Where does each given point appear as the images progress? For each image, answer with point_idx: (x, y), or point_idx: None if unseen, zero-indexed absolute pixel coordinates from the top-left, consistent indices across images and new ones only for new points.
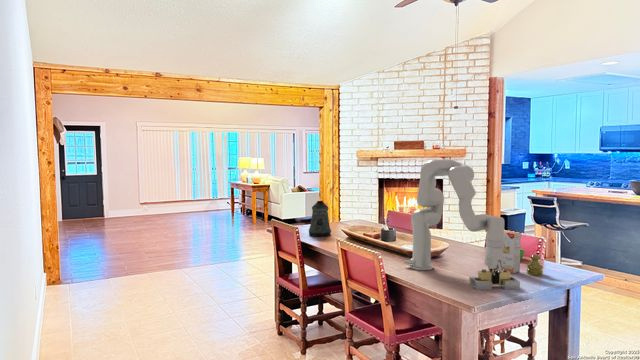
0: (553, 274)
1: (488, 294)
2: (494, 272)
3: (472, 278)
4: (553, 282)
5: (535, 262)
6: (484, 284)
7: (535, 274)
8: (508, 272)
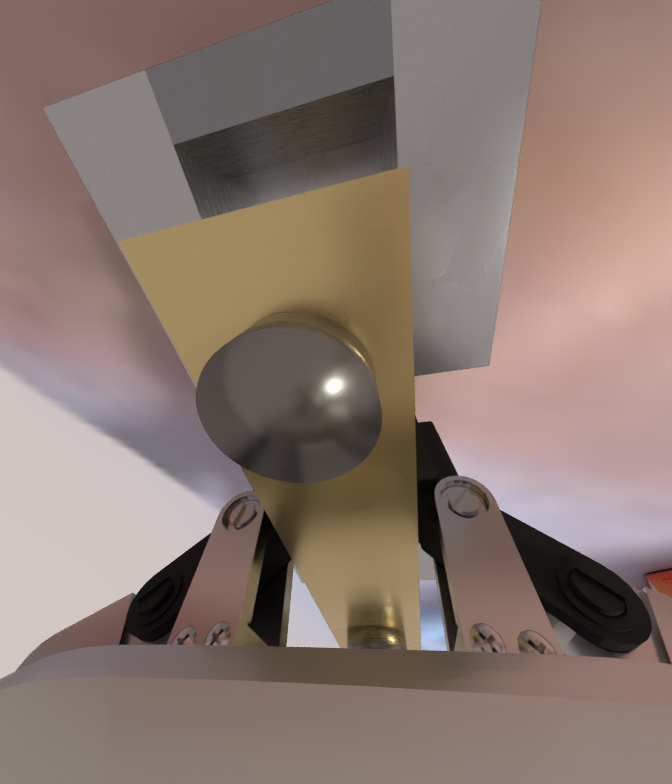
0: None
1: (67, 292)
2: (204, 561)
3: (358, 27)
4: (432, 630)
5: None
6: None
7: None
8: (340, 639)
